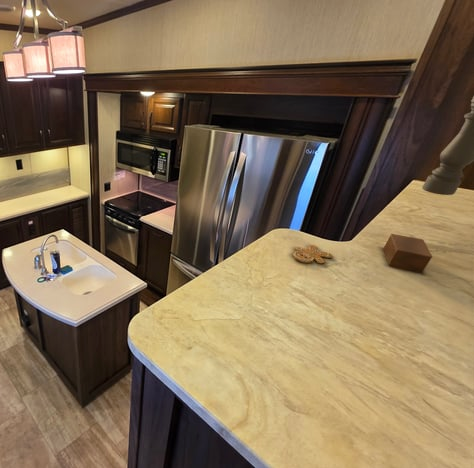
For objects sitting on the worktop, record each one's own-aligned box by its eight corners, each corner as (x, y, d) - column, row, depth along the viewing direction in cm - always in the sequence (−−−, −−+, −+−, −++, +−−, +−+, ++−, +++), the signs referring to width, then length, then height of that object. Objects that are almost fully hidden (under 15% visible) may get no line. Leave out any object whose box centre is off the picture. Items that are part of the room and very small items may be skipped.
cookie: (338, 256, 78) (312, 265, 75) (336, 259, 79) (310, 268, 76) (309, 241, 85) (284, 249, 82) (308, 244, 86) (283, 252, 83)
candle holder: (450, 188, 78) (511, 85, 65) (458, 196, 74) (526, 88, 61) (419, 184, 81) (472, 85, 68) (425, 192, 77) (483, 88, 64)
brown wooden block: (413, 254, 79) (423, 239, 76) (422, 272, 73) (432, 256, 70) (383, 248, 82) (391, 233, 80) (388, 265, 76) (397, 249, 73)
